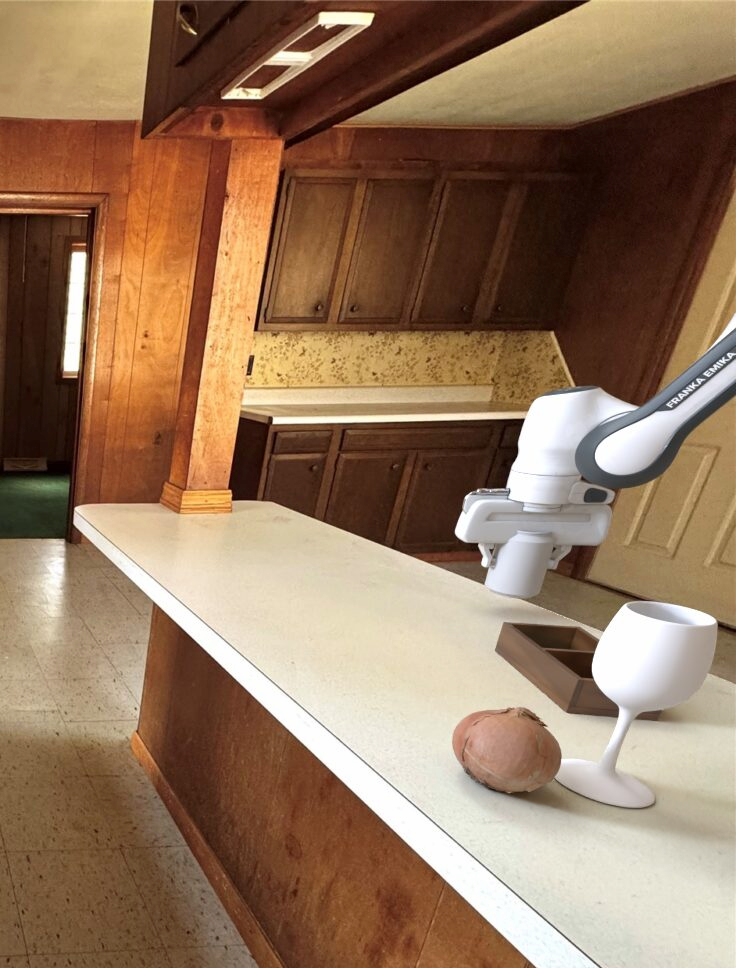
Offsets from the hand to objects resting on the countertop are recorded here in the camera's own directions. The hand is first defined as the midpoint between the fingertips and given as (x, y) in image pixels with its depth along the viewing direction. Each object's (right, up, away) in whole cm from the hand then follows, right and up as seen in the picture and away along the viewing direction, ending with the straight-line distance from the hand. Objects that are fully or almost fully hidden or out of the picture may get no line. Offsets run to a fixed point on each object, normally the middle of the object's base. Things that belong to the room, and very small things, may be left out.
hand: (518, 567), depth 114 cm
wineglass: (-26, -27, -40) cm, 55 cm away
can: (0, -5, +2) cm, 5 cm away
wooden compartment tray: (-10, -18, -19) cm, 28 cm away
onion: (-37, -27, -39) cm, 60 cm away
